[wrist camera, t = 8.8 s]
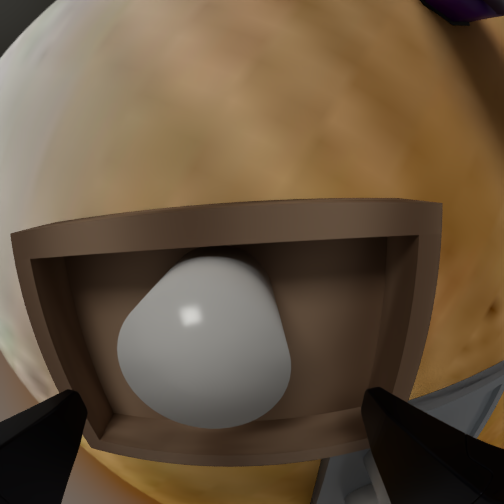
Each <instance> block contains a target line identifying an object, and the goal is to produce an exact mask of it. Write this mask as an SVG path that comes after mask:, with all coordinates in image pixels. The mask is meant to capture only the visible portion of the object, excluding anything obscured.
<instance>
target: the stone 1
mask: <svg viewBox="0 0 504 504" xmlns="http://www.w3.org/2000/svg"><path fill="white" fill-rule="evenodd" d="M117 354H118V360H119V365H120V368H121V371H122V373H123V376H124V377H125V379H126V381H127V383H128V384H129V386H130V387H131V389H132V390H133V391H134V393H135V394H136V395H137V396H138V397H139V398H140V399H141V400H142V401H143V402H144V403H145V404H146V405H148V406H149V407H150V408H152V409H153V410H154V411H156V412H158V413H159V414H161V415H163V416H165V417H167V418H169V419H171V420H173V421H176V422H178V423H181V424H185V425H188V426H193V427H199V428H208V429H221V428H230V427H235V426H239V425H243V424H246V423H249V422H251V421H253V420H255V419H257V418H259V417H261V416H262V415H264V414H265V413H267V412H268V411H269V410H271V409H272V408H273V407H274V406H275V405H276V404H277V403H278V401H279V400H280V399H281V397H282V396H283V394H284V392H285V390H286V388H287V386H288V383H289V380H290V374H291V359H290V354H289V349H288V345H287V341H286V338H285V334H284V330H283V326H282V322H281V319H280V315H279V311H278V307H277V303H276V300H275V296H274V292H273V288H272V285H271V282H270V279H269V276H268V275H267V273H266V271H265V269H264V268H263V267H262V265H261V264H260V263H259V262H258V261H257V260H256V259H255V258H254V257H252V256H251V255H250V254H248V253H246V252H245V251H243V250H240V249H238V248H235V247H232V246H228V245H222V246H206V247H199V248H196V249H194V250H192V251H190V252H188V253H187V254H185V255H184V256H183V257H181V258H180V259H179V260H178V261H177V262H176V263H175V265H174V266H173V267H172V268H171V269H170V270H169V271H168V272H167V273H166V274H165V275H164V276H163V277H162V278H161V279H160V281H159V282H158V283H157V284H156V285H155V286H154V287H153V288H152V289H151V290H150V291H149V292H148V294H147V295H146V296H145V297H144V298H143V299H142V300H141V301H140V302H139V304H138V305H137V306H136V307H135V308H134V309H133V310H132V311H131V312H130V314H129V315H128V316H127V318H126V319H125V321H124V323H123V325H122V327H121V329H120V332H119V336H118V343H117Z"/></svg>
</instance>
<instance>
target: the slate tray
mask: <svg viewBox="0 0 504 504" xmlns="http://www.w3.org/2000/svg"><path fill="white" fill-rule="evenodd" d="M503 391H504V360H503V361H502V362H500V363H498V364H496V365H494V366H492V367H490V368H488V369H486V370H484V371H482V372H480V373H478V374H476V375H474V376H472V377H469V378H467V379H465V380H463V381H460V382H458V383H456V384H453V385H451V386H448V387H446V388H443V389H441V390H438V391H435V392H433V393H430V394H427V395H424V396H421V397H418V398H415V399H412V400H409V401H408V403H409V404H411V405H413V406H415V407H417V408H418V409H420V410H422V411H424V412H426V413H428V414H429V415H431V416H433V417H435V418H437V419H439V420H441V421H443V422H445V423H446V424H448V425H450V426H452V427H454V428H456V429H458V430H460V431H462V432H464V433H465V434H468V435H470V436H472V437H474V438H476V439H477V437H478V436H479V434H480V432H481V431H482V429H483V428H484V426H485V424H486V423H487V421H488V419H489V417H490V416H491V414H492V412H493V410H494V409H495V407H496V405H497V403H498V401H499V399H500V397H501V395H502V393H503ZM369 450H370V448H368V449H365V450H361V451H357V452H352V453H348V454H344V455H339V456H334V457H329V458H323V459H321V463H320V467H319V471H318V475H317V480H316V483H315V487H314V491H313V495H312V498H311V502H310V504H345V501H344V499H345V497H346V496H347V495H348V494H350V493H351V492H353V491H355V490H357V489H359V488H361V487H363V486H365V485H368V484H371V483H372V482H371V480H370V477H369V474H368V472H367V469H366V467H365V464H364V461H363V460H364V457H365V455H366V454H367V452H368V451H369Z"/></svg>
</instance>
